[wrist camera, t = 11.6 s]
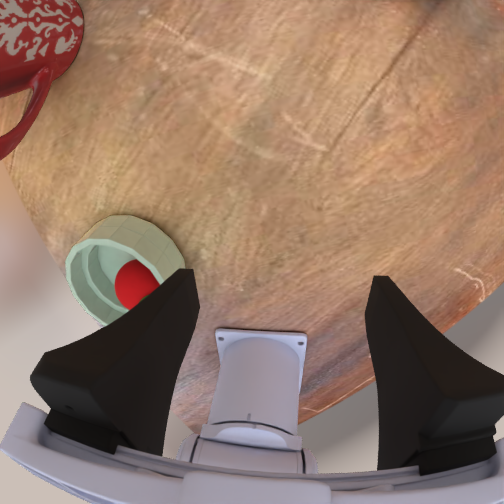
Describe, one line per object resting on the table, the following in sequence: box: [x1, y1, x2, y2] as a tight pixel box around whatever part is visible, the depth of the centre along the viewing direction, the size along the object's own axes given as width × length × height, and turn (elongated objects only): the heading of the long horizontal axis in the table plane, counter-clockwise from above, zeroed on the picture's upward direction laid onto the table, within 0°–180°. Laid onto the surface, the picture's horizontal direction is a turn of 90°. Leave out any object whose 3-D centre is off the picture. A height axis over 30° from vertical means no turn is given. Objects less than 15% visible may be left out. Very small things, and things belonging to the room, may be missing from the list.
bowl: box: [65, 215, 186, 326], centre depth 23 cm, size 9×9×4 cm
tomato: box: [114, 259, 160, 310], centre depth 23 cm, size 4×4×4 cm
